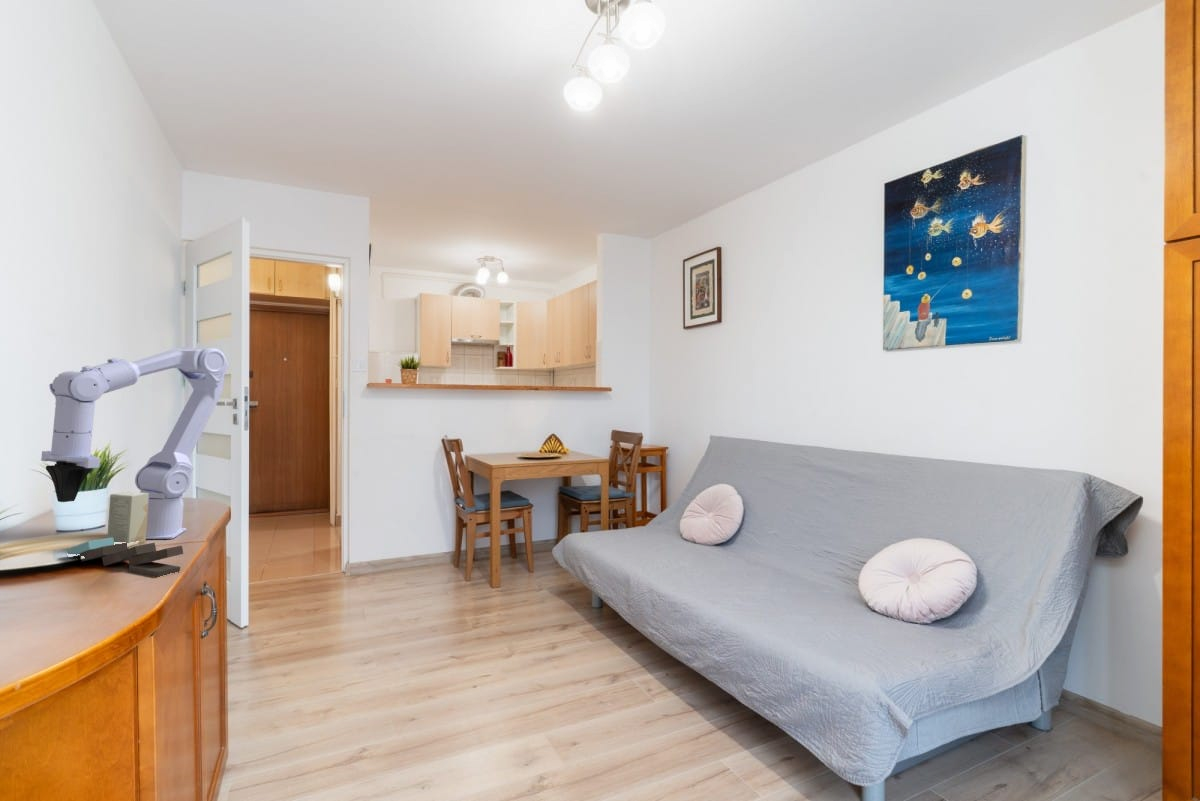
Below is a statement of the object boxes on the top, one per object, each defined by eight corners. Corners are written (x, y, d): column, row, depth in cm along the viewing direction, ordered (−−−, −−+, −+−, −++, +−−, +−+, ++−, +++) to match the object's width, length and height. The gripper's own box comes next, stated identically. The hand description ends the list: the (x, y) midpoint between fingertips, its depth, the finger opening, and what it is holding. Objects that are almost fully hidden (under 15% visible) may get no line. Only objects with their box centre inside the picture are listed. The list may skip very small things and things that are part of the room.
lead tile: (66, 549, 109) (88, 541, 107) (91, 545, 113) (113, 537, 110) (67, 557, 109) (89, 549, 106) (92, 553, 112) (114, 545, 110)
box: (146, 545, 121) (151, 493, 121) (127, 550, 116) (132, 495, 117) (123, 543, 121) (128, 490, 122) (104, 547, 117) (109, 493, 117)
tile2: (79, 553, 107) (102, 546, 105) (104, 549, 111) (127, 542, 109) (80, 561, 107) (103, 555, 105) (105, 557, 111) (127, 551, 108)
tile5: (129, 566, 104) (158, 571, 102) (151, 561, 107) (180, 566, 106) (128, 575, 103) (157, 581, 102) (150, 570, 107) (179, 575, 105)
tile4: (128, 557, 105) (166, 548, 105) (145, 554, 109) (182, 545, 109) (129, 566, 105) (167, 557, 105) (146, 562, 109) (183, 553, 109)
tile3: (102, 557, 105) (135, 546, 105) (122, 553, 109) (154, 542, 109) (103, 565, 105) (137, 554, 105) (124, 561, 109) (156, 550, 108)
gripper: (24, 429, 111) (17, 499, 111) (71, 435, 106) (64, 508, 106) (68, 429, 118) (62, 495, 118) (114, 435, 113) (107, 503, 113)
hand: (66, 501), depth 112 cm, fingers closed
